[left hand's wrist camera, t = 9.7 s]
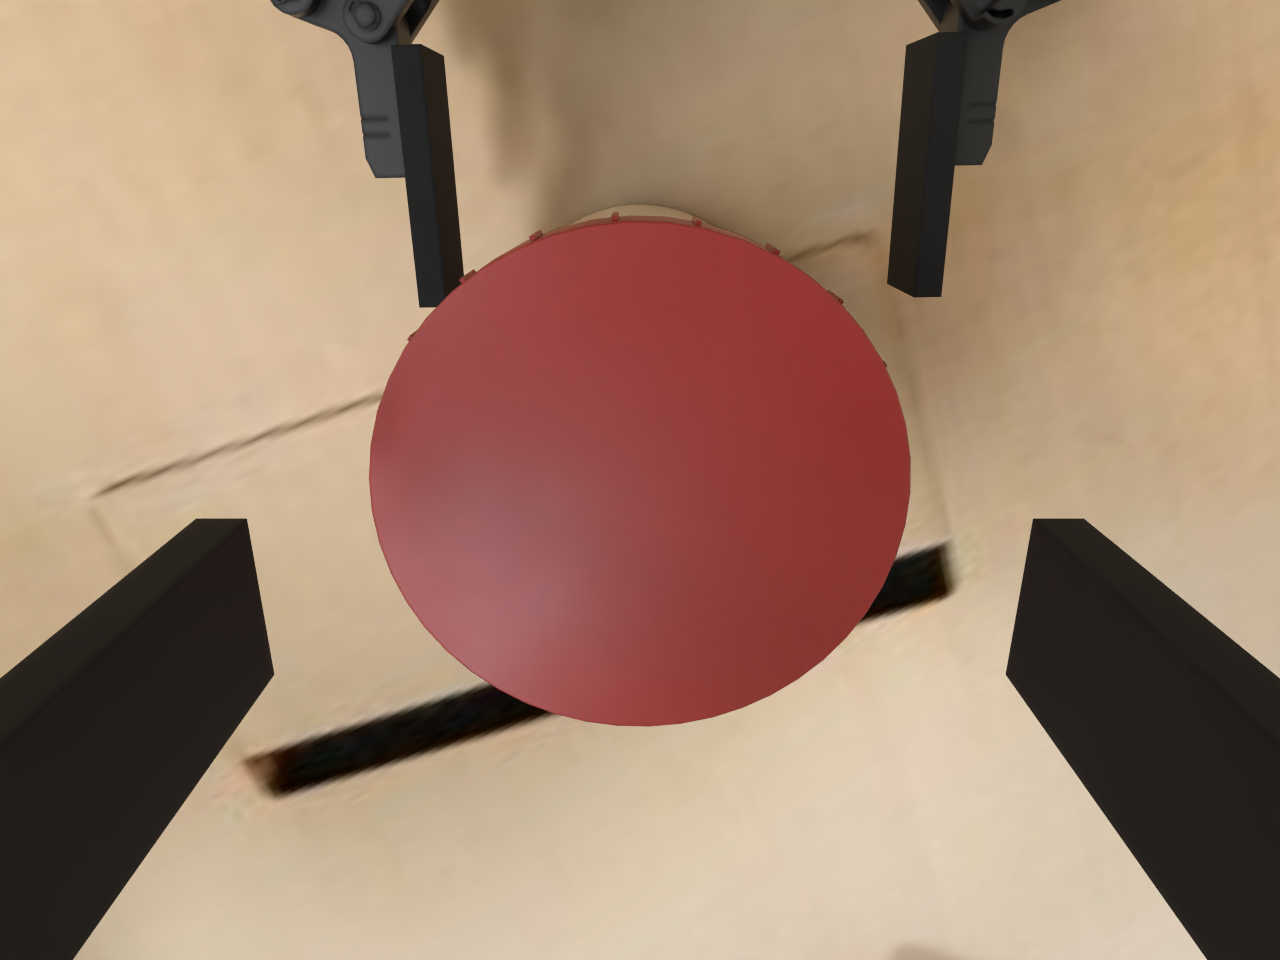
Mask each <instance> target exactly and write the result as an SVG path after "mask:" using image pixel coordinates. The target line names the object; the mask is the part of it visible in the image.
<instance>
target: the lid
mask: <svg viewBox="0 0 1280 960" xmlns="http://www.w3.org/2000/svg"><path fill="white" fill-rule="evenodd" d="M529 238H530V240H528V241H525V242H523V243H522V244H520V245H518V246H517V247H515V248H513V249H511V250H510V251H508V252H506V253H504V254H503V255H501V256H499V257H497V258H496V259H494V260H493V261H491V262H490V263H488V264H487V265H486V266H484V267H483V268H481V269H480V270H479V271H478V272H476V271H475V270H472V271H471V272H469V273H468V274H466V275H465V276H463V277H462V278H461V279H460V280H459V281H460V282H461V283H462V284H461V285H460V286H458V287H457V288H456V289H454V290H453V291H452V292H451V293H450V294H449V295H448V296H447V297H446V298H445V299H444V300H443V301H442V302H441V303H440V304H439V305H438V306H437V307H436V308H435V309H434V311H433V312H432V313H431V314H430V315H429V316H428V317H427V318H426V319H425V320H424V322H423V323H422V325H421V326H420V327H419V329H418V330H417V331H415V332H414V333H413V334H412V335H410V336H409V338H408V341H409V343H408V344H407V345H406V347H405V349H404V350H403V352H402V354H401V356H400V358H399V360H398V362H397V364H396V366H395V368H394V370H393V372H392V373H391V375H390V377H389V379H388V382H387V385H386V388H385V391H384V394H383V397H382V399H381V402H380V405H379V407H378V411H377V415H376V421H375V426H374V431H373V436H372V441H371V450H370V470H369V483H370V494H371V505H372V513H373V517H374V522H375V526H376V530H377V534H378V539H379V543H380V546H381V548H382V551H383V554H384V556H385V559H386V561H387V564H388V567H389V569H390V572H391V574H392V576H393V578H394V580H395V582H396V583H397V585H398V587H399V589H400V591H401V593H402V595H403V596H404V598H405V600H406V602H407V603H408V605H409V606H410V607H411V609H412V610H413V612H414V613H415V614H416V616H417V617H418V618H419V620H420V621H421V623H422V624H423V625H424V627H425V628H426V629H427V630H428V631H429V632H430V633H431V635H432V636H433V637H434V638H435V639H436V640H437V641H438V642H439V643H440V644H441V645H442V646H443V647H444V648H445V650H446V651H447V652H449V653H450V654H451V655H452V656H453V657H455V658H456V659H457V660H458V661H459V662H461V663H462V664H463V665H464V666H465V667H466V668H468V669H469V670H470V671H471V672H473V673H474V674H476V675H477V676H479V677H480V678H482V679H483V680H485V681H487V682H488V683H490V684H491V685H493V686H494V687H496V688H497V689H499V690H501V691H503V692H505V693H507V694H509V695H511V696H513V697H515V698H517V699H519V700H521V701H523V702H525V703H527V704H530V705H533V706H535V707H538V708H541V709H544V710H546V711H549V712H552V713H554V714H558V715H562V716H566V717H570V718H574V719H578V720H582V721H586V722H594V723H601V724H609V725H617V726H659V725H671V724H681V723H686V722H692V721H697V720H702V719H707V718H712V717H715V716H718V715H721V714H724V713H728V712H731V711H734V710H737V709H740V708H743V707H745V706H747V705H750V704H752V703H754V702H756V701H759V700H761V699H763V698H765V697H768V696H770V695H772V694H774V693H775V692H777V691H779V690H780V689H782V688H784V687H785V686H787V685H789V684H790V683H792V682H794V681H796V680H797V679H799V678H800V677H801V676H803V675H804V674H805V673H807V672H808V671H809V670H811V669H812V668H813V667H815V666H816V665H817V664H819V663H820V662H821V661H822V660H824V659H825V658H826V657H827V656H828V655H829V654H830V653H831V652H832V651H833V650H834V649H835V648H836V647H837V646H838V645H839V644H840V643H841V642H842V641H843V640H844V639H845V638H846V637H847V636H848V635H849V634H850V632H851V631H852V630H853V629H854V627H855V626H856V625H857V624H858V622H859V621H860V620H861V619H862V617H863V616H864V615H865V614H866V612H867V611H868V609H869V608H870V606H871V604H872V603H873V601H874V599H875V598H876V596H877V594H878V593H879V591H880V590H881V588H882V586H883V584H884V582H885V580H886V578H887V575H888V573H889V571H890V569H891V566H892V564H893V562H894V560H895V557H896V555H897V551H898V548H899V545H900V541H901V538H902V534H903V531H904V528H905V524H906V517H907V511H908V504H909V497H910V465H911V458H910V451H909V443H908V436H907V429H906V423H905V420H904V416H903V413H902V409H901V406H900V402H899V399H898V395H897V392H896V390H895V387H894V385H893V383H892V381H891V378H890V376H889V374H888V372H887V370H886V367H887V365H886V363H885V362H884V361H883V360H882V359H881V357H880V356H879V354H878V353H877V351H876V349H875V348H874V346H873V345H872V343H871V342H870V340H869V338H868V337H867V335H866V334H865V332H864V331H863V329H862V328H861V327H860V326H859V325H858V323H857V322H856V321H855V320H854V319H853V318H852V316H851V315H850V314H849V313H848V312H847V311H846V309H845V308H844V307H843V306H842V304H843V303H844V302H843V300H842V299H841V298H839V297H838V296H836V295H835V294H834V293H832V292H831V291H829V290H828V291H826V290H825V289H824V288H823V287H822V286H820V285H819V284H818V283H817V282H816V281H815V280H814V279H812V278H811V277H810V276H808V275H807V274H806V273H804V272H803V271H801V270H800V269H799V268H797V267H796V266H794V265H793V264H791V263H789V262H788V261H786V260H785V259H783V258H782V257H780V256H779V254H780V251H779V250H778V249H776V248H775V247H773V246H772V245H770V244H768V243H767V245H766V247H764V246H762V245H760V244H758V243H756V242H753V241H751V240H749V239H747V238H745V237H743V236H741V235H739V234H737V233H734V232H731V231H727V230H724V229H721V228H718V227H715V226H711V225H708V224H705V223H702V221H701V220H700V219H699V218H698V217H695V216H693V219H692V221H690V220H684V219H678V218H672V217H666V216H635V215H628V216H619V212H613V214H612V216H611V217H610V218H600V219H592V220H589V221H585V222H581V223H577V224H573V225H569V226H565V227H561V228H557V229H555V230H552V231H550V232H547V233H545V234H542V231H541V230H539V231H537V232H535V233H534V234H533V235H531V236H530V237H529Z"/></svg>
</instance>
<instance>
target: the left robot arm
mask: <svg viewBox="0 0 1280 960" xmlns="http://www.w3.org/2000/svg"><path fill="white" fill-rule="evenodd" d="M273 676H274V670H273V665H272V659H271V653H270V648H269V642H268V636H267V631H266V625H265V619H264V614H263V608H262V602H261V597H260V591H259V585H258V580H257V574H256V568H255V562H254V557H253V551H252V545H251V540H250V534H249V528H248V523H247V519H195V520H194V521H193V522H192V523H190V524H189V525H188V526H187V527H185V528H184V529H183V530H182V531H180V532H179V533H178V534H177V535H176V536H174V537H173V538H172V539H171V540H169V541H168V542H167V543H166V544H165V545H163V546H162V547H161V548H160V549H158V550H157V551H156V552H155V553H154V554H152V555H151V556H150V557H149V558H147V559H146V560H145V561H144V562H142V563H141V564H140V565H139V566H138V567H136V568H135V569H134V570H133V571H131V572H130V573H129V574H128V575H127V576H125V577H124V578H123V579H122V580H120V581H119V582H118V583H117V584H116V585H114V586H113V587H112V588H111V589H109V590H108V591H107V592H106V593H104V594H103V595H102V596H101V597H100V598H98V599H97V600H96V601H95V602H93V603H92V604H91V605H90V606H89V607H87V608H86V609H85V610H84V611H82V612H81V613H80V614H79V615H77V616H76V617H75V618H74V619H73V620H71V621H70V622H69V623H68V624H66V625H65V626H64V627H63V628H62V629H60V630H59V631H58V632H57V633H55V634H54V635H53V636H52V637H51V638H49V639H48V640H47V641H46V642H44V643H43V644H42V645H41V646H39V647H38V648H37V649H36V650H35V651H33V652H32V653H31V654H30V655H28V656H27V657H26V658H25V659H24V660H22V661H21V662H20V663H19V664H17V665H16V666H15V667H14V668H13V669H11V670H10V671H9V672H8V673H6V674H5V675H4V676H3V677H1V678H0V960H73V959H74V957H75V956H76V954H77V953H78V952H79V950H80V949H81V947H82V946H83V945H84V943H85V942H86V940H87V939H88V937H89V936H90V935H91V933H92V932H93V930H94V929H95V928H96V926H97V925H98V923H99V922H100V920H101V919H102V918H103V916H104V915H105V913H106V912H107V911H108V909H109V908H110V906H111V905H112V903H113V902H114V901H115V899H116V898H117V896H118V895H119V894H120V892H121V891H122V889H123V888H124V886H125V885H126V884H127V882H128V881H129V879H130V878H131V877H132V875H133V874H134V872H135V871H136V869H137V868H138V867H139V865H140V864H141V862H142V861H143V860H144V858H145V857H146V855H147V854H148V852H149V851H150V850H151V848H152V847H153V845H154V844H155V843H156V841H157V840H158V838H159V837H160V836H161V834H162V833H163V831H164V830H165V828H166V827H167V826H168V824H169V823H170V821H171V820H172V819H173V817H174V816H175V814H176V813H177V811H178V810H179V809H180V807H181V806H182V804H183V803H184V802H185V800H186V799H187V797H188V796H189V794H190V793H191V792H192V790H193V789H194V787H195V786H196V785H197V783H198V782H199V780H200V779H201V777H202V776H203V775H204V773H205V772H206V770H207V769H208V768H209V766H210V765H211V763H212V762H213V760H214V759H215V758H216V756H217V755H218V753H219V752H220V751H221V749H222V748H223V746H224V745H225V744H226V742H227V741H228V739H229V738H230V736H231V735H232V734H233V732H234V731H235V729H236V728H237V727H238V725H239V724H240V722H241V721H242V719H243V718H244V717H245V715H246V714H247V712H248V711H249V710H250V708H251V707H252V705H253V704H254V702H255V701H256V700H257V698H258V697H259V695H260V694H261V693H262V691H263V690H264V688H265V687H266V685H267V684H268V683H269V681H270V680H271V678H272V677H273ZM1006 676H1007V677H1008V678H1009V680H1010V681H1011V683H1012V684H1013V685H1014V687H1015V688H1016V690H1017V691H1018V693H1019V694H1020V695H1021V697H1022V698H1023V700H1024V701H1025V702H1026V704H1027V705H1028V707H1029V708H1030V710H1031V711H1032V712H1033V714H1034V715H1035V717H1036V718H1037V719H1038V721H1039V722H1040V724H1041V725H1042V727H1043V728H1044V729H1045V731H1046V732H1047V734H1048V735H1049V736H1050V738H1051V739H1052V741H1053V742H1054V744H1055V745H1056V746H1057V748H1058V749H1059V751H1060V752H1061V753H1062V755H1063V756H1064V758H1065V759H1066V760H1067V762H1068V763H1069V765H1070V766H1071V768H1072V769H1073V770H1074V772H1075V773H1076V775H1077V776H1078V777H1079V779H1080V780H1081V782H1082V783H1083V785H1084V786H1085V787H1086V789H1087V790H1088V792H1089V793H1090V794H1091V796H1092V797H1093V799H1094V800H1095V802H1096V803H1097V804H1098V806H1099V807H1100V809H1101V810H1102V811H1103V813H1104V814H1105V816H1106V817H1107V819H1108V820H1109V821H1110V823H1111V824H1112V826H1113V827H1114V828H1115V830H1116V831H1117V833H1118V834H1119V836H1120V837H1121V838H1122V840H1123V841H1124V843H1125V844H1126V845H1127V847H1128V848H1129V850H1130V851H1131V853H1132V854H1133V855H1134V857H1135V858H1136V860H1137V861H1138V862H1139V864H1140V865H1141V867H1142V868H1143V869H1144V871H1145V872H1146V874H1147V875H1148V877H1149V878H1150V879H1151V881H1152V882H1153V884H1154V885H1155V886H1156V888H1157V889H1158V891H1159V892H1160V894H1161V895H1162V896H1163V898H1164V899H1165V901H1166V902H1167V903H1168V905H1169V906H1170V908H1171V909H1172V911H1173V912H1174V913H1175V915H1176V916H1177V918H1178V919H1179V920H1180V922H1181V923H1182V925H1183V926H1184V928H1185V929H1186V930H1187V932H1188V933H1189V935H1190V936H1191V937H1192V939H1193V940H1194V942H1195V943H1196V945H1197V946H1198V947H1199V949H1200V950H1201V952H1202V953H1203V954H1204V956H1205V957H1206V959H1207V960H1280V678H1279V677H1277V676H1276V675H1275V674H1274V673H1272V672H1271V671H1270V670H1269V669H1267V668H1266V667H1265V666H1264V665H1263V664H1261V663H1260V662H1259V661H1258V660H1256V659H1255V658H1254V657H1253V656H1252V655H1250V654H1249V653H1248V652H1247V651H1245V650H1244V649H1243V648H1242V647H1241V646H1239V645H1238V644H1237V643H1236V642H1234V641H1233V640H1232V639H1231V638H1229V637H1228V636H1227V635H1226V634H1225V633H1223V632H1222V631H1221V630H1220V629H1218V628H1217V627H1216V626H1215V625H1214V624H1212V623H1211V622H1210V621H1209V620H1207V619H1206V618H1205V617H1204V616H1203V615H1201V614H1200V613H1199V612H1198V611H1196V610H1195V609H1194V608H1193V607H1191V606H1190V605H1189V604H1188V603H1187V602H1185V601H1184V600H1183V599H1182V598H1180V597H1179V596H1178V595H1177V594H1176V593H1174V592H1173V591H1172V590H1171V589H1169V588H1168V587H1167V586H1166V585H1164V584H1163V583H1162V582H1161V581H1160V580H1158V579H1157V578H1156V577H1155V576H1153V575H1152V574H1151V573H1150V572H1149V571H1147V570H1146V569H1145V568H1144V567H1142V566H1141V565H1140V564H1139V563H1138V562H1136V561H1135V560H1134V559H1133V558H1131V557H1130V556H1129V555H1128V554H1126V553H1125V552H1124V551H1123V550H1122V549H1120V548H1119V547H1118V546H1117V545H1115V544H1114V543H1113V542H1112V541H1111V540H1109V539H1108V538H1107V537H1106V536H1104V535H1103V534H1102V533H1101V532H1100V531H1098V530H1097V529H1096V528H1095V527H1093V526H1092V525H1091V524H1090V523H1088V522H1087V521H1086V520H1085V519H1033V523H1032V528H1031V534H1030V540H1029V545H1028V551H1027V557H1026V562H1025V568H1024V574H1023V580H1022V585H1021V591H1020V597H1019V602H1018V608H1017V614H1016V619H1015V625H1014V631H1013V636H1012V642H1011V648H1010V653H1009V659H1008V665H1007V670H1006Z"/></svg>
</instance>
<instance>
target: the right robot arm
mask: <svg viewBox="0 0 1280 960" xmlns="http://www.w3.org/2000/svg"><path fill="white" fill-rule="evenodd" d="M438 1H439V0H271V2H272V3H273V5H274V6H275V7H276V8H278V9H279V10H280V11H282V12H283V13H286V14H288V15H291V16H293V17H295V18H298V19H300V20H303V21H305V22H308V23H310V24H313V25H315V26H318V27H321V28H324V29H326V30H329V31H332V32H334V33H336V34H338V35H339V36H340V37H341V38H342V39H343V40H344V41H345V42H346V44H347V45H348V47H349V49H350V51H351V53H352V57H353V61H354V68H355V76H356V84H357V92H358V100H359V108H360V116H361V124H362V132H363V140H364V148H365V156H366V160H367V162H368V164H369V166H370V168H371V170H372V172H373V174H374V176H375V178H402V177H405V180H406V189H407V198H408V207H409V216H410V225H411V234H412V243H413V252H414V261H415V270H416V280H417V289H418V298H419V307H437V306H438V305H439V304H440V303H441V302H442V301H443V300H444V299H445V298H446V297H447V296H448V295H449V294H450V293H451V292H452V291H453V290H454V289H456V288H457V287H458V286H460V285H461V284H462V283H461V282H460V281H459V280H460V279H461V278H462V277H463V276H464V272H463V261H462V250H461V239H460V228H459V217H458V206H457V195H456V184H455V173H454V162H453V151H452V140H451V130H450V119H449V108H448V97H447V86H446V75H445V64H444V56H443V55H441V54H439V53H437V52H435V51H433V50H431V49H429V48H427V47H425V46H423V45H421V44H411V43H412V42H413V40H414V39H415V37H416V36H417V34H418V33H419V31H420V29H421V28H422V26H423V25H424V23H425V22H426V20H427V19H428V17H429V15H430V14H431V12H432V11H433V9H434V8H435V6H436V5H437V3H438ZM918 1H919V3H920V4H921V6H922V7H923V9H924V10H925V11H926V13H927V14H928V16H929V17H930V19H931V20H932V22H933V23H934V25H935V26H936V28H937V29H938V31H939V32H938V33H935V34H933V35H930V36H928V37H926V38H923V39H921V40H918V41H916V42H913V43H911V44H909V45H906V56H905V68H904V81H903V93H902V106H901V118H900V130H899V143H898V155H897V168H896V180H895V193H894V205H893V218H892V230H891V243H890V255H889V268H888V280H887V284H889V285H891V286H893V287H895V288H897V289H899V290H901V291H903V292H904V293H906V294H908V295H910V296H912V297H941V293H942V283H943V274H944V264H945V254H946V244H947V235H948V225H949V215H950V205H951V196H952V186H953V176H954V166H955V165H982V163H983V161H984V159H985V157H986V155H987V153H988V151H989V149H990V147H991V145H992V137H993V128H994V119H995V111H996V102H997V93H998V85H999V76H1000V68H1001V59H1002V50H1003V45H1004V40H1005V37H1006V35H1007V33H1008V31H1009V30H1010V28H1011V27H1012V25H1013V24H1014V23H1015V22H1016V21H1017V20H1019V19H1020V18H1021V17H1023V16H1025V15H1027V14H1029V13H1031V12H1034V11H1036V10H1038V9H1041V8H1043V7H1046V6H1048V5H1051V4H1053V3H1055V2H1058V1H1060V0H918Z"/></svg>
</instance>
